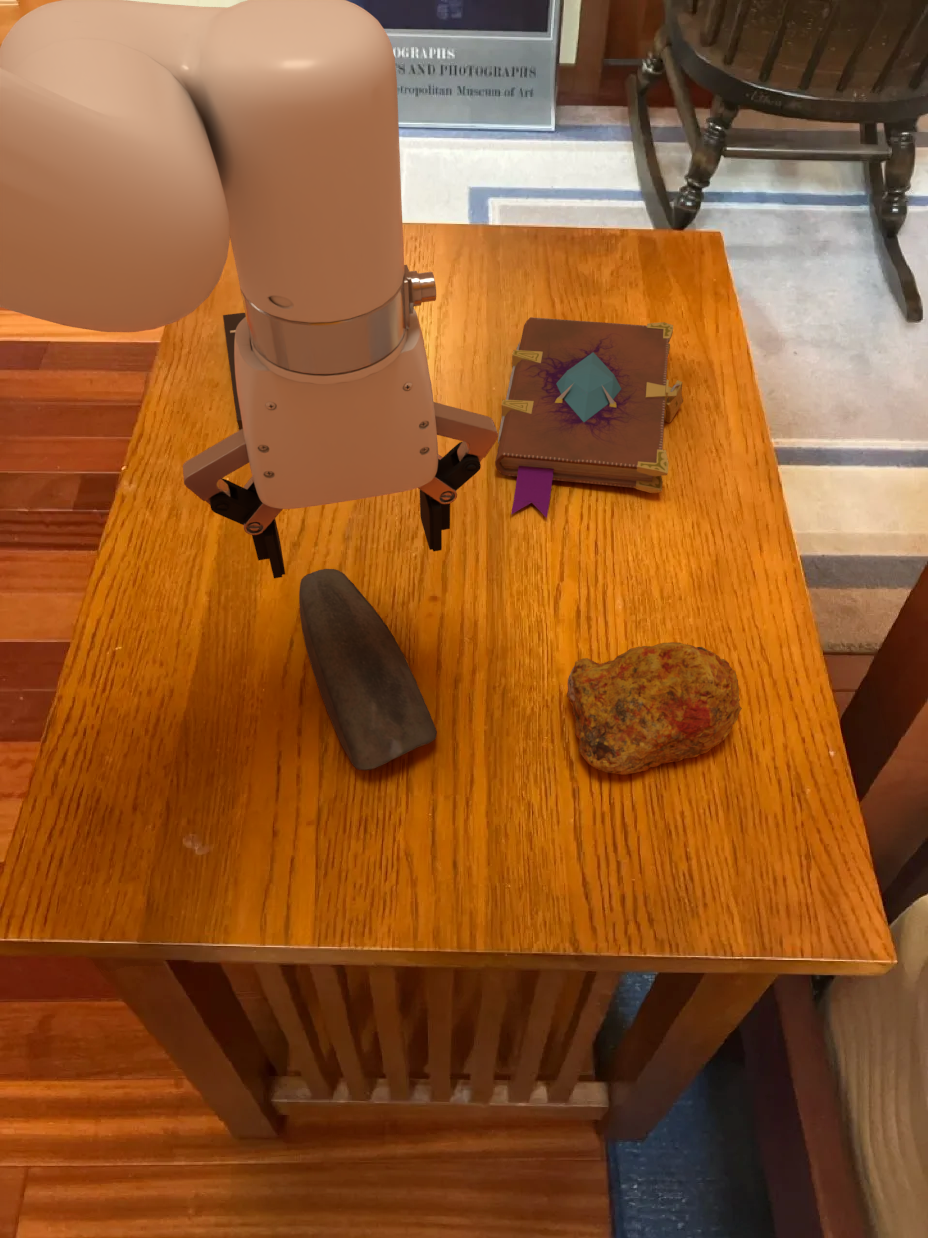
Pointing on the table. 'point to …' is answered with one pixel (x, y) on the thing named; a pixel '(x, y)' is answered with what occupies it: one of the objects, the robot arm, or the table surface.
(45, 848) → the table surface
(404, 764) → the table surface
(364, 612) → the decorative stone
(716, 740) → the rock
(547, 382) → the book
